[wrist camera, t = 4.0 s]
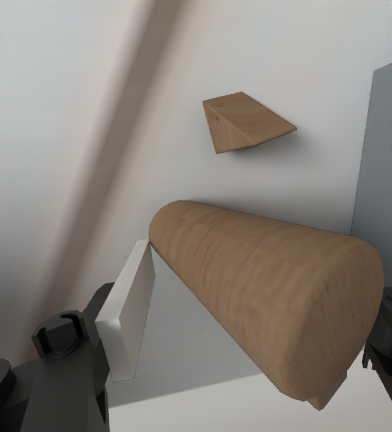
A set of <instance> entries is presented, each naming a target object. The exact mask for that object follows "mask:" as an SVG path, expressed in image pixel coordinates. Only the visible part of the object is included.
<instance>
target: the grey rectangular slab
mask: <svg viewBox="0 0 392 432" xmlns="http://www.w3.org/2000/svg"><path fill="white" fill-rule="evenodd" d="M351 236H353V237H357V238H360V239H361V240H363V241H365V242H367V243H368V244H370V245H372V246H373V247H375V248H377V249H378V252H379V254H380V256H381V258H382V260H383V271H384V287H392V63H391V64H388V65H386V66H384V67H382V68H380V69H377V70H375V71H374V75H373V82H372V89H371V96H370V103H369V110H368V117H367V124H366V131H365V139H364V146H363V153H362V160H361V167H360V174H359V181H358V188H357V195H356V202H355V209H354V216H353V223H352V230H351Z"/></svg>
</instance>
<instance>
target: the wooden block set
mask: <svg viewBox="0 0 392 432" xmlns="http://www.w3.org/2000/svg"><path fill="white" fill-rule="evenodd" d="M203 106H204V110H205V114H206V118H207V121H208V125H209V129H210V133H211V136H212V140H213V144H214V148H215V151H216V153H217V154H219V153H223V152H228V151H233V150H238V149H242V148H247V147H252V146H257V145H259V144H262V143H264V142H267V141H269V140H272V139H275V138H277V137H280V136H282V135H285V134H287V133H290V132H292V131H295V130H297V127H295V126H294V125H292V124H291V123H289V122H288V121H286V120H285V119H283V118H282V117H280V116H279V115H277V114H276V113H274V112H273V111H271V110H270V109H268V108H266V107H265V106H263V105H262V104H260V103H259V102H257V101H256V100H254V99H253V98H251V97H250V96H248V95H247V94H245V93H244V92H239V93H234V94H230V95H226V96H222V97H218V98H213V99H209V100H205V101H203ZM149 239H150V244H151V245H152V247H153V248H154V249H155V251H156V252H157V253H158V254H159V255H160V256H161V258H162V259H163V260H164V261H165V262H166V263H167V264H168V266H169V267H170V268H171V269H172V270H173V271H174V272H175V273H176V275H177V276H178V277H179V278H180V279H181V280H182V281H183V282H184V284H185V285H186V286H187V287H188V288H189V289H190V290H191V292H192V293H193V294H194V295H195V296H196V297H197V298H198V299H199V301H200V302H201V303H202V304H203V305H204V306H205V307H206V308H207V310H208V311H209V312H210V313H211V314H212V315H213V316H214V318H215V319H216V320H217V321H218V322H219V323H220V324H221V325H222V327H223V328H224V329H225V330H226V331H227V332H228V333H229V334H230V336H231V337H232V338H233V339H234V340H235V341H236V342H237V344H238V345H239V346H240V347H241V348H242V349H243V350H244V351H245V353H246V354H247V355H248V356H249V357H250V358H251V359H252V360H253V362H254V363H255V364H256V365H257V366H258V367H259V368H260V370H261V371H262V372H263V373H264V374H265V375H266V376H267V377H268V379H269V380H270V381H271V382H272V383H273V384H274V385H275V386H276V388H277V389H278V390H279V391H280V392H281V393H283V394H285V395H287V396H289V397H290V398H293V399H296V400H300V401H308V402H309V403H310V404H311V405H312V406H313V407H314V408H316V409H317V410H319V411H320V410H322V409H323V408H324V407H325V406H326V404H327V403H328V402H329V400H330V399H331V398H332V396H333V395H334V394H335V392H336V391H337V390H338V388H339V387H340V386H341V384H342V383H343V382H344V380H345V379H346V378H347V370H348V369H349V368H350V366H351V364H352V363H353V361H354V360H355V359H356V357H357V356H358V354H359V353H360V351H361V350H362V348H363V346H364V344H365V342H366V340H367V338H368V336H369V334H370V332H371V330H372V327H373V325H374V322H375V320H376V317H377V315H378V311H379V307H380V304H381V300H382V296H383V288H384V271H383V260H382V258H381V256H380V254H379V252H378V249H377V248H375V247H373V246H372V245H370V244H368V243H367V242H365V241H363V240H361V239H360V238H357V237H353V236H348V235H343V234H339V233H334V232H330V231H325V230H320V229H316V228H311V227H307V226H302V225H297V224H293V223H288V222H284V221H279V220H274V219H270V218H265V217H261V216H256V215H251V214H247V213H242V212H238V211H233V210H228V209H224V208H219V207H215V206H210V205H205V204H201V203H196V202H192V201H181V200H179V201H176V202H172V203H169V204H168V205H166V206H164V207H163V208H161V209H160V210H159V211H158V213H157V214H156V215H155V216H154V218H153V220H152V222H151V224H150V227H149Z"/></svg>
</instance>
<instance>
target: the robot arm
mask: <svg viewBox="0 0 392 432" xmlns="http://www.w3.org/2000/svg"><path fill="white" fill-rule="evenodd" d="M154 280H155V270H154V265H153V259H152V253H151V247H150V242H149V239H147V240H138V241H137V242H136V244H135V246H134V248H133V250H132V252H131V254H130V255H129V257H128V259H127V261H126V263H125V265H124V267H123V269H122V271H121V273H120V274H119V276H118V278H117V280H116V282H114V283H106V284H104V285H103V286H102V287H101V288H99V289H98V290H97V291H96V293H95V294H94V296H93V297H92V300H90V302H89V304H88V305H87V307H86V308H85V310H84V311H83V313H81V312H79V311H73V310H70V311H66V312H62V313H60V314H58V315H55V316H53V317H51V318H50V319H48V320H47V321H45V322H44V323H43V324H41V325H40V326H39V327H38V328H37V329H36V330H35V332H34V334H33V335H32V340H33V342H34V344H35V347H36V349H37V351H38V354H39V356H40V358H38V359H36V360H33V361H30V362H28V363H25V364H23V365H20V366H18V367H15V368H12V366H11V364H10V362H9V361H7V360H5V359H0V432H110V430H109V413H108V396H107V391H106V388H105V383H106V380H107V377H108V374H109V371H110V374H111V378H112V381H113V382H116V381H122V380H129V379H134V376H135V371H136V366H137V361H138V357H139V352H140V347H141V342H142V337H143V333H144V328H145V323H146V318H147V314H148V309H149V304H150V299H151V294H152V290H153V285H154ZM369 359H370V360H371V362H372V364H373V365H372V370H376V372H377V373H378V375H379V377H380V379H381V381H382V383H383V385H384V387H385V389H386V391H387V393H388V394H389V396H390V398H391V400H392V287H384V288H383V296H382V300H381V304H380V307H379V311H378V315H377V317H376V320H375V322H374V325H373V327H372V330H371V332H370V334H369V336H368V338H367V340H366V344H365V349H364V354H363V359H362V364H363V368H367V366H368V361H369Z"/></svg>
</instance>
